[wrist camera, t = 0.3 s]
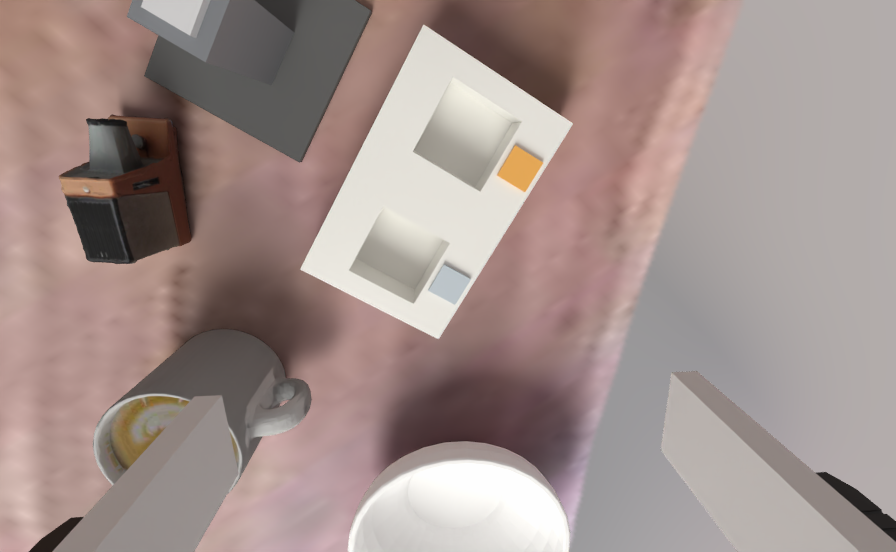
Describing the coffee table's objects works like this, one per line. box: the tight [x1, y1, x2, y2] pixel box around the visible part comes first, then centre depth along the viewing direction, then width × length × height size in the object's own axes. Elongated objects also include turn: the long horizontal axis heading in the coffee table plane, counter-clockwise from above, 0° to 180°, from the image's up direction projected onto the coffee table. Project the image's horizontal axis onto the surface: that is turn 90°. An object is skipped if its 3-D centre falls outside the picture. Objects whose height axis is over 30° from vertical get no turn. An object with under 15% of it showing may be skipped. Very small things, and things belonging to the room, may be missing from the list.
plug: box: [127, 0, 294, 85], centre depth 26 cm, size 4×4×11 cm
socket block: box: [300, 25, 573, 339], centre depth 33 cm, size 12×19×4 cm, turn 150°
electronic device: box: [59, 115, 191, 264], centre depth 30 cm, size 4×10×8 cm, turn 177°
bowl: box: [348, 441, 570, 552], centre depth 41 cm, size 20×20×7 cm
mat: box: [144, 0, 372, 162], centre depth 31 cm, size 12×12×1 cm
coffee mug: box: [93, 329, 311, 494], centre depth 35 cm, size 13×10×10 cm
